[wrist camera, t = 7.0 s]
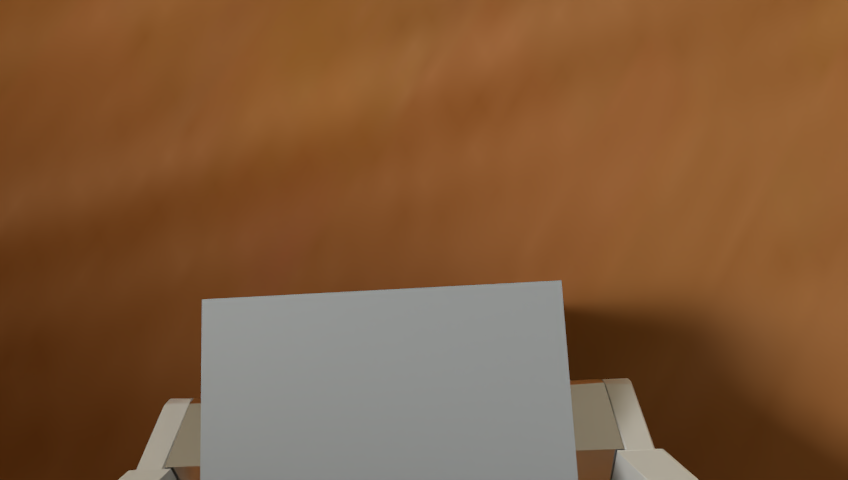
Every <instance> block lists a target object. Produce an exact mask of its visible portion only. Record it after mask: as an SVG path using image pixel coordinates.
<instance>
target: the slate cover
mask: <svg viewBox="0 0 848 480" xmlns="http://www.w3.org/2000/svg"><path fill="white" fill-rule="evenodd" d="M200 480H578V472H577V460H576V448H575V436H574V424H573V413H572V401H571V389H570V377H569V365H568V353H567V341H566V329H565V317H564V305H563V294H562V282H561V280H560V281H542V282H523V283H504V284H485V285H466V286H447V287H428V288H409V289H390V290H371V291H352V292H333V293H314V294H295V295H276V296H257V297H238V298H219V299H202V337H201V446H200Z"/></svg>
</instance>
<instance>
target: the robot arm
mask: <svg viewBox="0 0 848 480" xmlns="http://www.w3.org/2000/svg"><path fill="white" fill-rule="evenodd" d="M570 389H571V401H572V413H573V424H574V436H575V448H576V460H577V472H578V480H699V479H698V478H696V477H695V476H694V475H693V474H692V473H691V472H689V471H688V470H687V469H686V468H685V467H684V466H682V465H681V464H680V463H679V462H678V461H677V460H676V459H674V458H673V457H672V456H671V455H670V454H669V453H667V452H666V451H665V450H664V449H655V447H654V444H653V441H652V438H651V436H650V433H649V430H648V427H647V424H646V422H645V419H644V416H643V413H642V410H641V407H640V405H639V402H638V399H637V396H636V393H635V391H634V388H633V385H632V382H631V381H630V380H629V379H628V378H619V379H602V380H601V379H590V380H573V381H570ZM200 446H201V398H174V399H169V401H168V402H167V403H166V404H165V405H164V406H163V409H162V411H161V413H160V416H159V418H158V420H157V423H156V425H155V427H154V429H153V432H152V434H151V436H150V439H149V441H148V443H147V446H146V448H145V450H144V453H143V455H142V457H141V459H140V462H139V464H138V466H137V469H136V470H129V471H127V472H126V473H125V474H124V475H123V476H122V477H120V478H119V479H118V480H200Z"/></svg>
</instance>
